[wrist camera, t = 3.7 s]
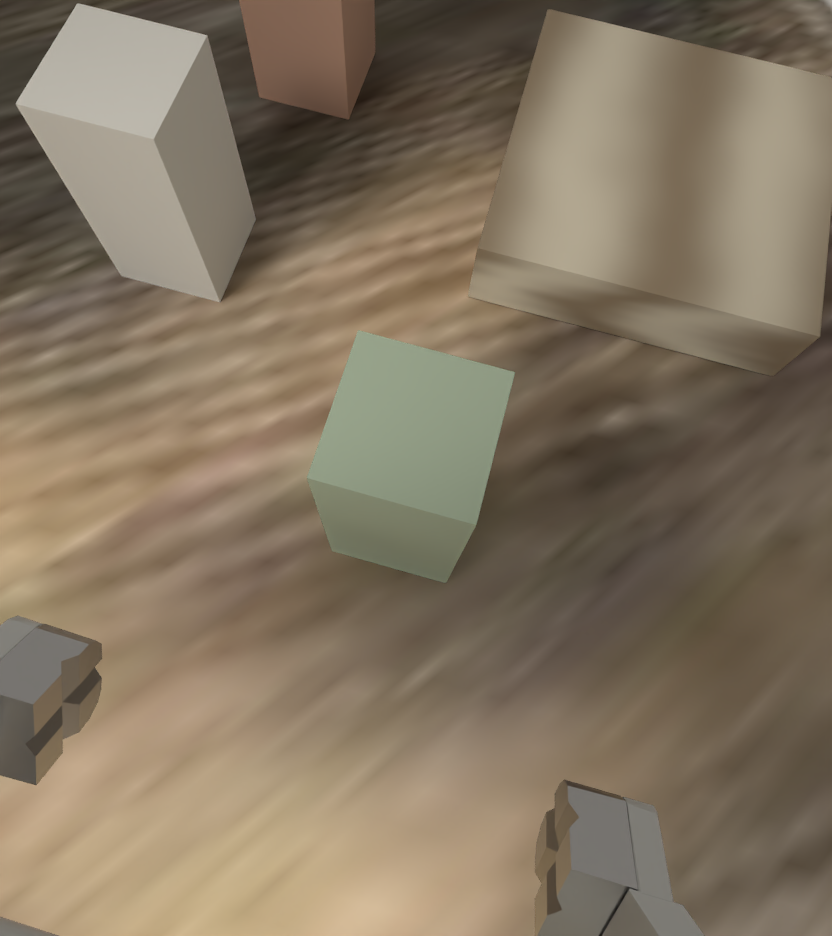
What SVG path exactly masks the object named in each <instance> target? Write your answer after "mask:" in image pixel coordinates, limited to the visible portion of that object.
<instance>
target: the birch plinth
mask: <svg viewBox="0 0 832 936" xmlns="http://www.w3.org/2000/svg"><path fill="white" fill-rule="evenodd" d="M831 209H832V77H829V76H825V75H821V74H817V73H812V72H808V71H804V70H800V69H796V68H792V67H787V66H783V65H779V64H775V63H771V62H767V61H763V60H758V59H754V58H750V57H746V56H742V55H738V54H733V53H729V52H725V51H721V50H717V49H713V48H708V47H704V46H700V45H696V44H692V43H688V42H684V41H679V40H675V39H671V38H667V37H663V36H659V35H654V34H650V33H646V32H642V31H638V30H634V29H629V28H625V27H621V26H617V25H613V24H609V23H605V22H600V21H596V20H592V19H588V18H584V17H580V16H575V15H571V14H567V13H563V12H559V11H555V10H551V9H548V11H547V14H546V17H545V21H544V24H543V28H542V31H541V34H540V38H539V41H538V45H537V48H536V51H535V55H534V58H533V62H532V65H531V68H530V72H529V75H528V78H527V82H526V85H525V89H524V92H523V95H522V99H521V102H520V106H519V109H518V112H517V116H516V119H515V123H514V126H513V129H512V133H511V136H510V140H509V143H508V146H507V150H506V153H505V157H504V160H503V163H502V167H501V170H500V174H499V177H498V180H497V184H496V187H495V191H494V194H493V197H492V201H491V204H490V208H489V211H488V214H487V218H486V221H485V224H484V228H483V231H482V235H481V238H480V241H479V245H478V248H477V253H476V258H475V263H474V268H473V273H472V278H471V283H470V288H469V292H468V297H471V298H475V299H479V300H483V301H487V302H490V303H494V304H498V305H502V306H506V307H510V308H513V309H517V310H521V311H525V312H529V313H532V314H536V315H540V316H544V317H548V318H551V319H555V320H559V321H563V322H567V323H571V324H574V325H578V326H582V327H586V328H590V329H593V330H597V331H601V332H605V333H609V334H612V335H616V336H620V337H624V338H628V339H632V340H635V341H639V342H643V343H647V344H651V345H654V346H658V347H662V348H666V349H670V350H673V351H677V352H681V353H685V354H689V355H693V356H696V357H700V358H704V359H708V360H712V361H715V362H719V363H723V364H727V365H731V366H735V367H738V368H742V369H746V370H750V371H754V372H757V373H761V374H765V375H769V376H774V375H775V374H776V373H778V372H779V371H780V370H781V369H782V368H784V367H785V366H786V365H787V364H788V363H789V362H791V361H792V360H793V359H794V358H795V357H797V356H798V355H799V354H800V353H801V352H803V351H804V350H805V349H806V348H807V347H808V346H810V345H811V344H812V343H813V342H814V341H816V340H817V339H818V338H819V337H820V332H821V321H822V310H823V299H824V288H825V276H826V265H827V254H828V243H829V231H830V220H831Z"/></svg>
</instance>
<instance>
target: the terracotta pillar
mask: <svg viewBox="0 0 832 936" xmlns="http://www.w3.org/2000/svg"><path fill="white" fill-rule="evenodd" d="M239 2H240V7H241V11H242V16H243V21H244V26H245V31H246V35H247V40H248V45H249V50H250V55H251V59H252V64H253V69H254V74H255V79H256V83H257V88H258V93H259V97H260V98H264V99H268V100H272V101H276V102H280V103H284V104H288V105H292V106H296V107H300V108H304V109H308V110H312V111H316V112H320V113H324V114H328V115H332V116H336V117H340V118H344V119H348V120H349V118H350V115H351V113H352V110H353V108H354V105H355V103H356V100H357V98H358V95H359V93H360V90H361V88H362V85H363V83H364V80H365V78H366V75H367V73H368V70H369V67H370V65H371V62H372V60H373V57H374V55H375V0H239Z"/></svg>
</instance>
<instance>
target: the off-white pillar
mask: <svg viewBox="0 0 832 936" xmlns="http://www.w3.org/2000/svg"><path fill="white" fill-rule="evenodd" d="M16 106H17V107H18V109H19V111H20V112H21V114H22V115H23V117H24V119H25V120H26V122H27V124H28V125H29V127H30V128H31V130H32V132H33V133H34V135H35V137H36V138H37V140H38V141H39V143H40V145H41V146H42V148H43V150H44V151H45V153H46V154H47V156H48V158H49V159H50V161H51V163H52V164H53V166H54V167H55V169H56V171H57V172H58V174H59V176H60V177H61V179H62V180H63V182H64V184H65V185H66V187H67V189H68V190H69V192H70V193H71V195H72V197H73V198H74V200H75V202H76V203H77V205H78V207H79V208H80V210H81V211H82V213H83V215H84V216H85V218H86V220H87V221H88V223H89V224H90V226H91V228H92V229H93V231H94V233H95V234H96V236H97V237H98V239H99V241H100V242H101V244H102V246H103V247H104V249H105V250H106V252H107V254H108V255H109V257H110V259H111V260H112V262H113V263H114V265H115V267H116V268H117V270H118V272H119V273H120V275H121V276H123V277H127V278H131V279H135V280H138V281H142V282H146V283H150V284H153V285H157V286H161V287H164V288H168V289H172V290H176V291H179V292H183V293H187V294H191V295H194V296H198V297H202V298H206V299H209V300H213V301H217V302H221V299H222V297H223V295H224V292H225V290H226V288H227V286H228V283H229V281H230V279H231V276H232V274H233V272H234V269H235V267H236V265H237V262H238V260H239V258H240V255H241V253H242V251H243V248H244V246H245V244H246V241H247V239H248V237H249V235H250V232H251V230H252V228H253V225H254V223H255V221H256V217H255V214H254V210H253V206H252V202H251V198H250V195H249V191H248V187H247V183H246V180H245V176H244V172H243V168H242V164H241V161H240V157H239V153H238V149H237V146H236V142H235V138H234V134H233V130H232V127H231V123H230V119H229V115H228V112H227V108H226V104H225V100H224V96H223V93H222V89H221V85H220V81H219V78H218V74H217V70H216V66H215V62H214V59H213V55H212V51H211V47H210V44H209V40H208V36H207V35H204V34H200V33H196V32H192V31H188V30H184V29H180V28H176V27H172V26H168V25H164V24H160V23H155V22H151V21H147V20H143V19H139V18H135V17H131V16H127V15H123V14H119V13H115V12H111V11H107V10H103V9H99V8H95V7H91V6H87V5H83V4H79V3H77V5H76V6H75V8H74V10H73V11H72V13H71V15H70V16H69V18H68V19H67V21H66V23H65V24H64V26H63V27H62V29H61V31H60V32H59V34H58V36H57V37H56V39H55V40H54V42H53V44H52V45H51V47H50V48H49V50H48V52H47V53H46V55H45V57H44V58H43V60H42V61H41V63H40V65H39V66H38V68H37V70H36V71H35V73H34V74H33V76H32V78H31V79H30V81H29V82H28V84H27V86H26V87H25V89H24V91H23V92H22V94H21V95H20V97H19V99H18V100H17V102H16Z"/></svg>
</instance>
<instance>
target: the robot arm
mask: <svg viewBox="0 0 832 936" xmlns="http://www.w3.org/2000/svg"><path fill="white" fill-rule="evenodd" d="M101 659H102V644H101V643H99V642H98V641H96V640H92V639H89V638H86V637H83V636H80V635H77V634H74V633H71V632H68V631H65V630H62V629H59V628H56V627H53V626H50V625H47V624H42V623H39V622H36V621H33V620H30V619H27V618H24V617H21V616H15V617H12V618H10V619H8V620H6V621H5V622H4V623H3V624H1V625H0V775H1V776H5V777H9V778H12V779H16V780H19V781H23V782H26V783H30V784H34V785H37V784H38V783H39V782H40V780H41V779H42V778H43V777H44V775H45V774H46V773H47V772H48V770H49V769H50V768H51V767H52V765H53V764H54V763H55V762H56V760H57V759H58V758H59V757H60V756H61V754H62V753H63V739H65V738H67V737H69V736H72V735H74V734H76V733H78V732H80V730H81V729H82V728H83V727H84V725H85V724H86V723H87V721H88V720H89V719H90V717H91V715H92V713H93V711H94V709H95V707H96V705H97V703H98V700H99V696H100V692H101V683H102V678H101V676H100V675H99V673H98V672H97V670H96V669H95V666H96V665H97V664H98V663H99V662H100V660H101ZM535 873H536V875H537V876H538V878H539V880H540V882H541V883H542V884H541V886H540V888H539V890H538V893H537V895H536V897H535V926H534V936H704V934H703V933H702V931H701V930H700V928H699V927H698V926H697V924H696V923H695V921H694V920H693V919H692V917H691V916H690V914H689V913H688V912H687V910H686V909H685V907H684V906H683V905H681V904H678V903H675V902H674V901H673V896H672V890H671V885H670V879H669V874H668V868H667V863H666V857H665V852H664V846H663V841H662V835H661V830H660V824H659V819H658V813H657V811H656V809H655V807H654V806H653V805H650V804H646V803H643V802H639V801H636V800H633V799H629V798H626V797H621V796H619V795H616V794H612V793H609V792H605V791H602V790H598V789H595V788H592V787H588V786H585V785H581V784H578V783H574V782H571V781H567V780H563V781H562V782H561V783H560V784H559V786H558V788H557V790H556V792H555V808H554V809H552V810H550V811H548V812H546V814H545V817H544V819H543V822H542V824H541V827H540V831H539V835H538V839H537V844H536V854H535ZM0 936H58V935H55V934H52V933H49V932H46V931H43V930H40V929H37V928H34V927H30V926H27V925H24V924H21V923H18V922H15V921H12V920H9V919H6V918H3V917H0Z"/></svg>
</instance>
